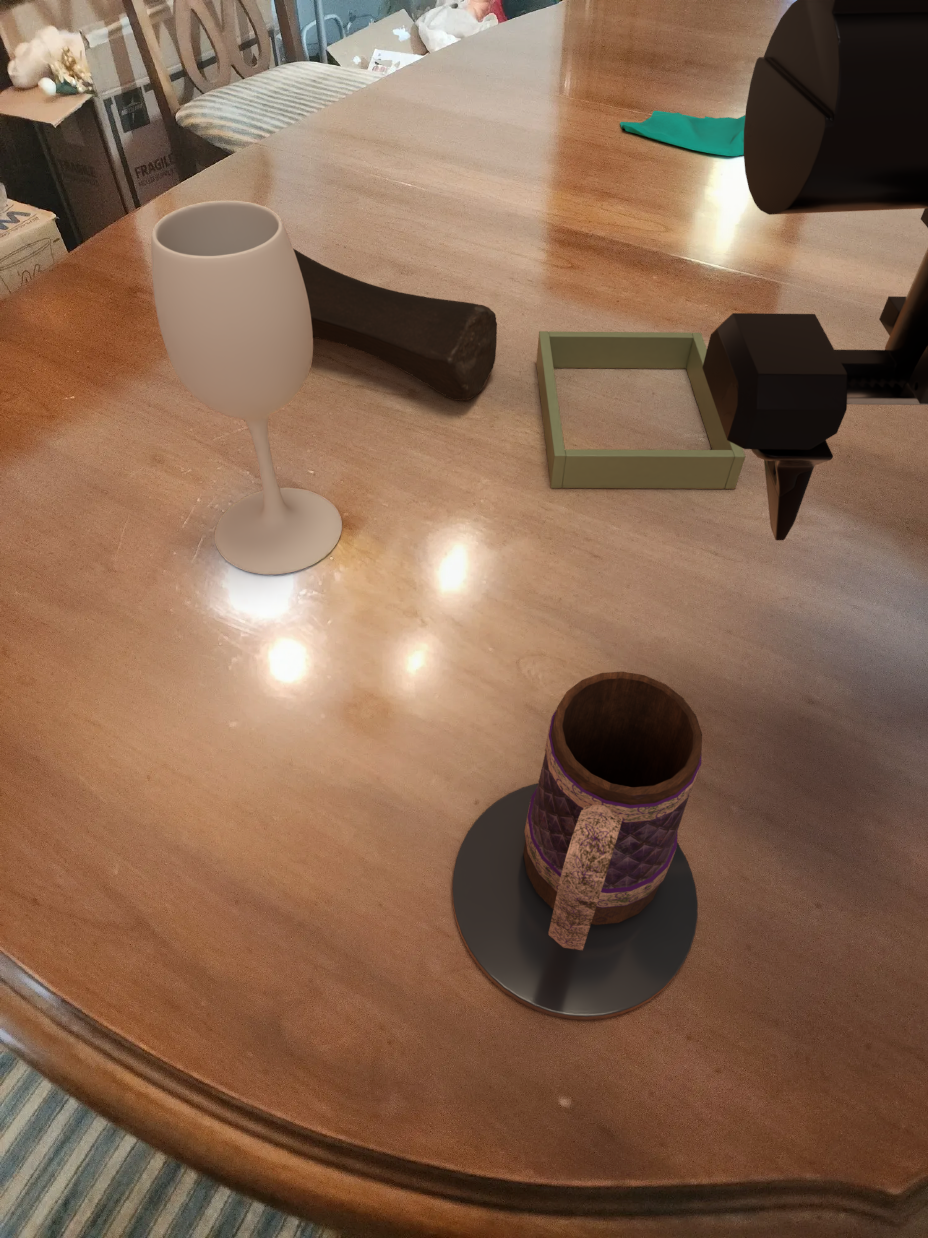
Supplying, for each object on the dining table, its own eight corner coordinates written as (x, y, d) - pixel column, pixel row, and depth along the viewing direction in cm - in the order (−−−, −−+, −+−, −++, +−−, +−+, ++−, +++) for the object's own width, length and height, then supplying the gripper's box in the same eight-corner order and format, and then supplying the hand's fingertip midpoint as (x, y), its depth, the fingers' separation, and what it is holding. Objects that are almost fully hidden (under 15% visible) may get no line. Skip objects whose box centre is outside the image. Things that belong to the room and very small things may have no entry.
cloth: (613, 147, 105) (615, 127, 103) (624, 108, 114) (626, 89, 112) (831, 169, 102) (837, 148, 100) (824, 127, 111) (830, 107, 109)
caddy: (693, 363, 74) (701, 332, 71) (735, 489, 63) (746, 456, 60) (536, 362, 73) (538, 330, 71) (550, 488, 62) (554, 455, 60)
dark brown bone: (188, 345, 78) (464, 456, 73) (135, 276, 68) (451, 399, 63) (243, 247, 80) (516, 349, 75) (199, 165, 70) (512, 276, 65)
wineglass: (345, 489, 62) (310, 190, 46) (338, 575, 56) (295, 267, 41) (225, 490, 62) (148, 190, 46) (205, 577, 56) (110, 268, 40)
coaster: (673, 785, 46) (675, 779, 46) (718, 1020, 38) (721, 1016, 38) (452, 785, 46) (452, 779, 46) (451, 1021, 38) (452, 1017, 38)
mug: (549, 777, 46) (574, 633, 37) (678, 826, 44) (738, 688, 35) (474, 953, 40) (482, 832, 31) (621, 1019, 38) (675, 910, 29)
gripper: (843, 318, 23) (711, 668, 35) (1510, 324, 24) (1158, 669, 35) (750, 157, 31) (666, 491, 42) (1260, 163, 31) (1037, 493, 43)
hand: (872, 535), depth 41 cm, fingers open, 9 cm apart
